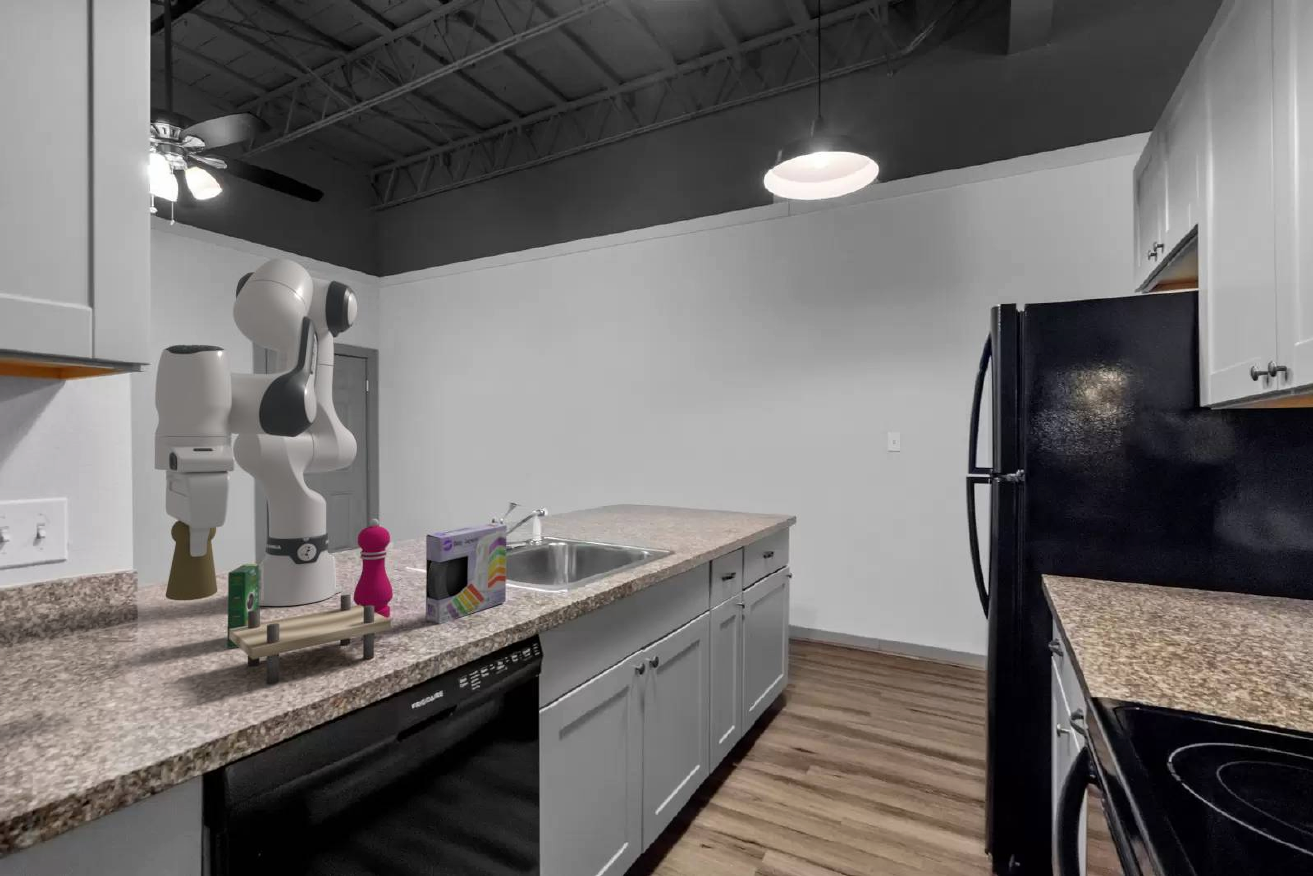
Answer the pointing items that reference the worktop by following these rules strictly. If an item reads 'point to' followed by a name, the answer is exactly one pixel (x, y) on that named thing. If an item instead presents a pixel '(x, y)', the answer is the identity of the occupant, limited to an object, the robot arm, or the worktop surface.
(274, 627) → the spice riser
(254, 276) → the robot arm
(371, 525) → the pepper mill
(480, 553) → the cake pan box
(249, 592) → the coffee box
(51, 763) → the worktop surface
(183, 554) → the cork
